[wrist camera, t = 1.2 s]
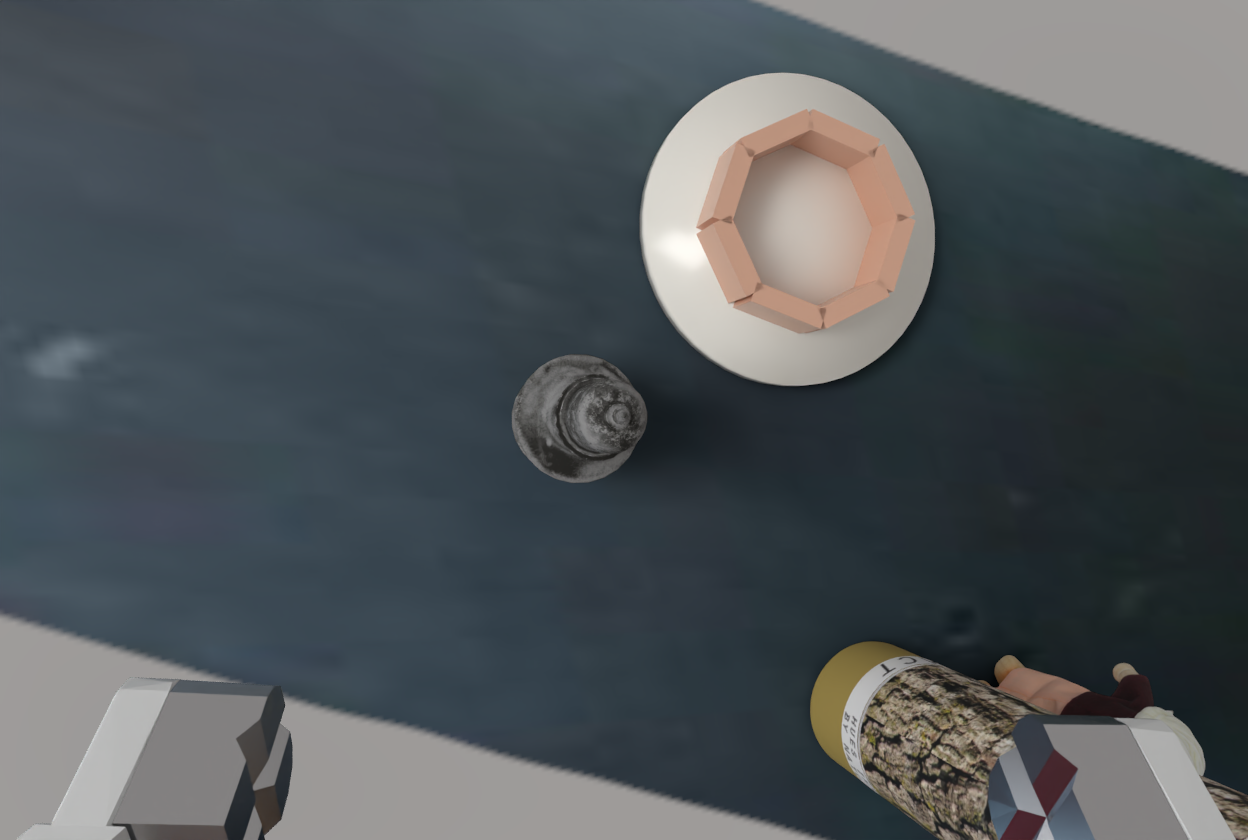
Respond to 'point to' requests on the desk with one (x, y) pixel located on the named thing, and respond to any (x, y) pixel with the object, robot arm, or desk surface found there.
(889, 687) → the wooden cylinder
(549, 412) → the grey chess piece
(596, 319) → the desk surface
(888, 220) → the saucer
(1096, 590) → the desk surface
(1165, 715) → the grandmother figurine
